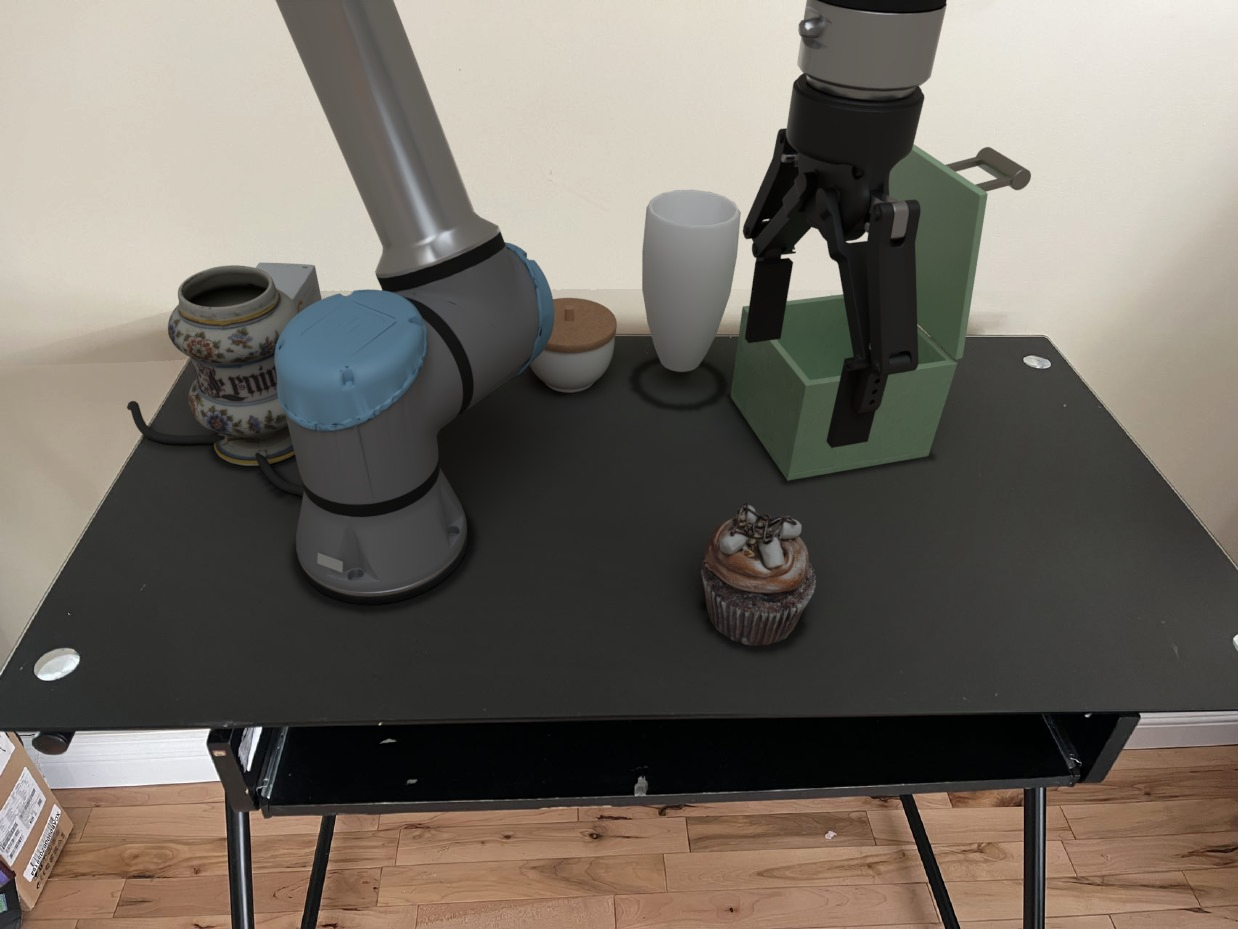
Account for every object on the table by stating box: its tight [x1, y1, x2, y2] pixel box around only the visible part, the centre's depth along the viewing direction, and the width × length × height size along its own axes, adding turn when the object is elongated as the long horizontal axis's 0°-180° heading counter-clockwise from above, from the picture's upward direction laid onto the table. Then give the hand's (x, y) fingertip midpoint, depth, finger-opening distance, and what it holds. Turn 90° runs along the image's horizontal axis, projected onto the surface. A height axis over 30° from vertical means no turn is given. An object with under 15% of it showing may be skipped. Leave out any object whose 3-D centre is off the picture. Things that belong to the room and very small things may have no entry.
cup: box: [641, 189, 742, 373], centre depth 100 cm, size 10×10×22 cm
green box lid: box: [889, 144, 1032, 361], centre depth 90 cm, size 17×16×9 cm
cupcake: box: [700, 502, 817, 647], centre depth 76 cm, size 10×10×10 cm
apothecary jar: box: [167, 264, 299, 467], centre depth 90 cm, size 12×12×18 cm
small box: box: [255, 262, 323, 313], centre depth 100 cm, size 8×6×13 cm
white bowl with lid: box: [528, 297, 618, 393], centre depth 104 cm, size 11×11×9 cm
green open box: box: [730, 293, 958, 481], centre depth 97 cm, size 17×16×12 cm
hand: (801, 386), depth 66 cm, fingers open, 13 cm apart
